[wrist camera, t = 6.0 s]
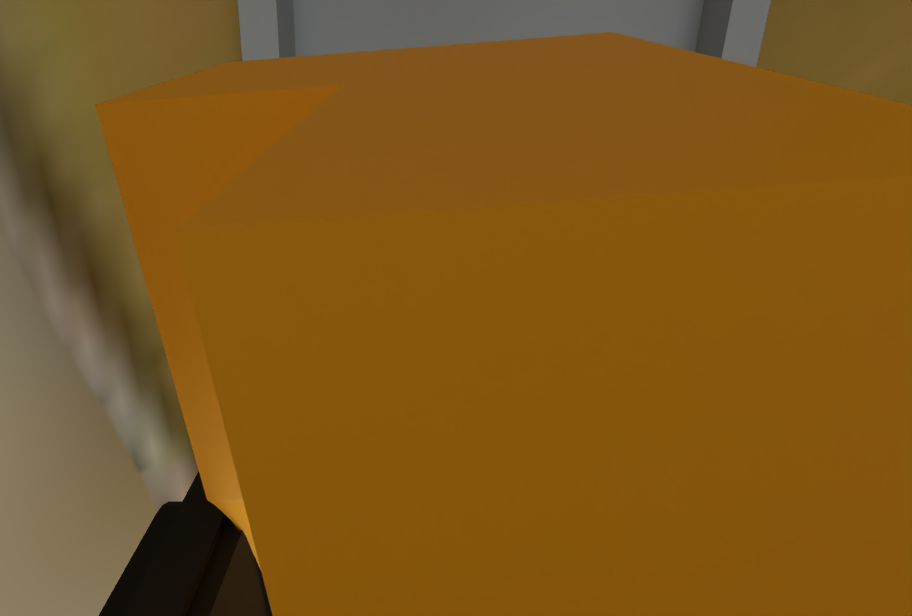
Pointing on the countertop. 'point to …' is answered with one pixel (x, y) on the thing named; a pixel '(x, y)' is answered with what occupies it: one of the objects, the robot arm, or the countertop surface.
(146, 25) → the countertop surface
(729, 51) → the parts tray
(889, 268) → the pipe clamp
